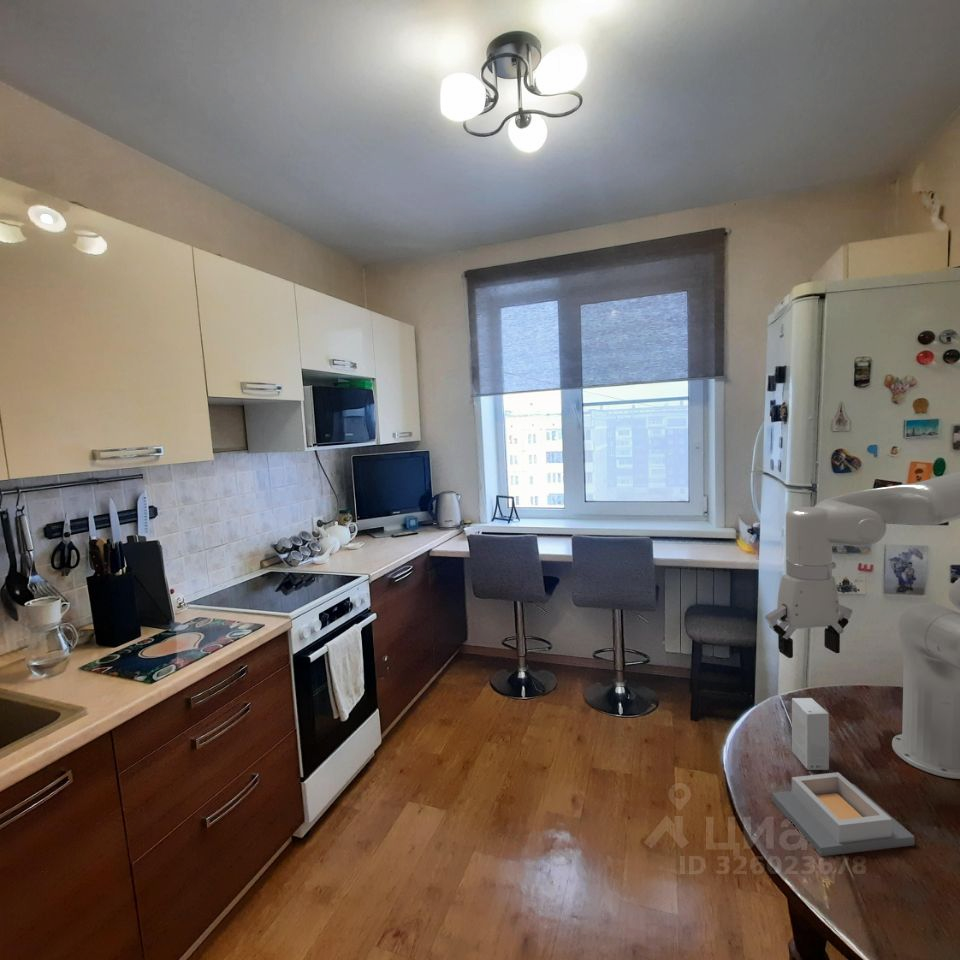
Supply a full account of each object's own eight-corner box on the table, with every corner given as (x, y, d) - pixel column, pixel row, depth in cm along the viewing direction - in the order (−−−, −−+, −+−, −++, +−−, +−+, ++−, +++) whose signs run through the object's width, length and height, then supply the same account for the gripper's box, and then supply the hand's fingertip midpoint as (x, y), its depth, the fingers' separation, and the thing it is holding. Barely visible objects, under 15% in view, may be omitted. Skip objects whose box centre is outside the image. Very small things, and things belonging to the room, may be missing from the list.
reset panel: (853, 791, 91) (853, 768, 91) (914, 845, 79) (915, 819, 79) (771, 800, 90) (771, 777, 90) (820, 856, 78) (820, 830, 78)
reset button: (836, 800, 89) (836, 792, 89) (874, 836, 81) (874, 828, 81) (805, 804, 89) (805, 796, 88) (840, 840, 81) (840, 832, 80)
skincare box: (829, 770, 97) (830, 714, 96) (807, 770, 97) (807, 714, 96) (812, 750, 103) (812, 697, 102) (790, 750, 103) (790, 697, 102)
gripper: (835, 561, 100) (835, 640, 102) (754, 568, 99) (755, 648, 101) (866, 571, 93) (865, 657, 95) (779, 579, 92) (780, 665, 94)
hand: (809, 652), depth 98 cm, fingers open, 9 cm apart
